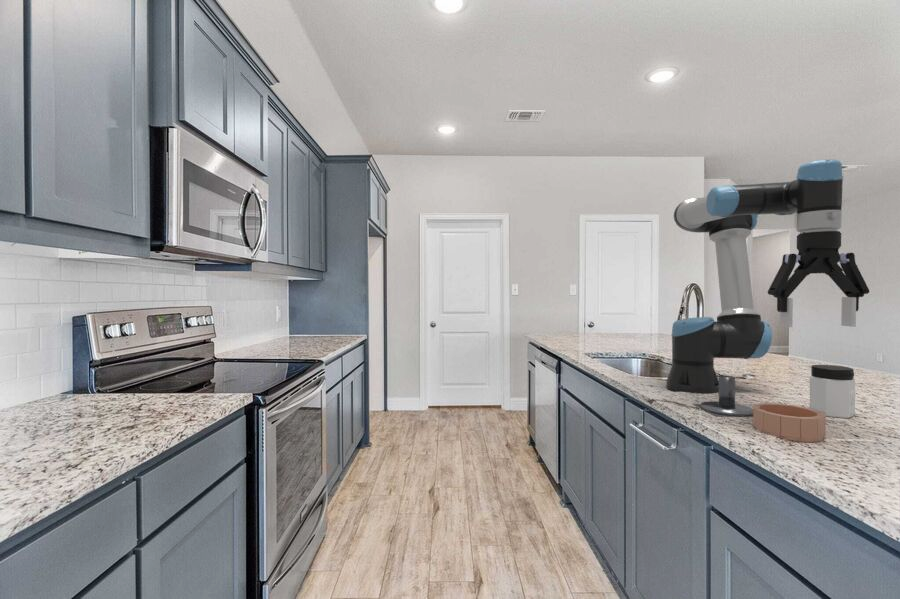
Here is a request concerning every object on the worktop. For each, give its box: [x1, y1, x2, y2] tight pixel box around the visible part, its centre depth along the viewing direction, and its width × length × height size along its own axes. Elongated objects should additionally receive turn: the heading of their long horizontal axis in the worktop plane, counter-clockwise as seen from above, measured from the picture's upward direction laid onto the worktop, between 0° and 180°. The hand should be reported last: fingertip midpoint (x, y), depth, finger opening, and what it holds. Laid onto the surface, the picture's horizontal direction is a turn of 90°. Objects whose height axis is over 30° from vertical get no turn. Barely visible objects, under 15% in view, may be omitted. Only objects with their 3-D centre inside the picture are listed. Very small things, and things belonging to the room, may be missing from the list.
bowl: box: [752, 402, 827, 443], centre depth 94 cm, size 12×12×5 cm
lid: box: [700, 374, 753, 418], centre depth 110 cm, size 12×12×9 cm
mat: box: [691, 403, 753, 418], centre depth 110 cm, size 12×12×1 cm
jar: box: [809, 364, 856, 419], centre depth 108 cm, size 9×8×12 cm
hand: (817, 326), depth 95 cm, fingers open, 13 cm apart
